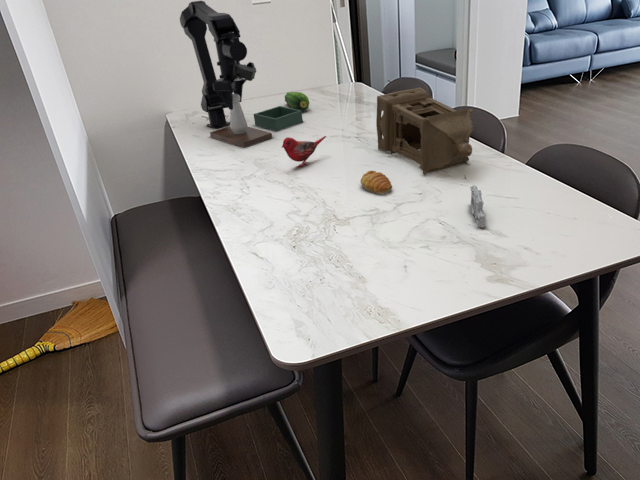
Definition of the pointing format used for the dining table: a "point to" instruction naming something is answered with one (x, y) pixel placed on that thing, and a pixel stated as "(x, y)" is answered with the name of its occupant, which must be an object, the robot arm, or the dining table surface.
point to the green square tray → (278, 118)
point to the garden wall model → (477, 206)
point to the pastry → (376, 182)
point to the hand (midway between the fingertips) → (235, 105)
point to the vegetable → (297, 100)
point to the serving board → (241, 136)
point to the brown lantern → (423, 129)
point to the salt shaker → (237, 116)
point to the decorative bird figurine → (299, 149)
